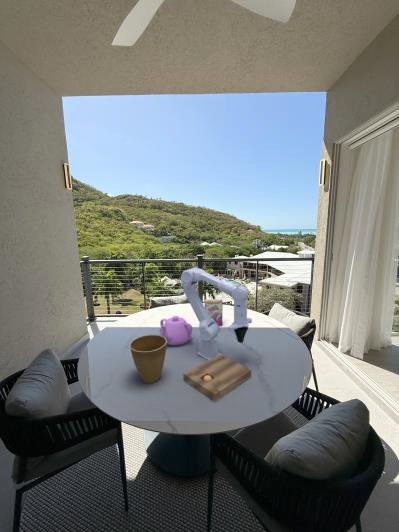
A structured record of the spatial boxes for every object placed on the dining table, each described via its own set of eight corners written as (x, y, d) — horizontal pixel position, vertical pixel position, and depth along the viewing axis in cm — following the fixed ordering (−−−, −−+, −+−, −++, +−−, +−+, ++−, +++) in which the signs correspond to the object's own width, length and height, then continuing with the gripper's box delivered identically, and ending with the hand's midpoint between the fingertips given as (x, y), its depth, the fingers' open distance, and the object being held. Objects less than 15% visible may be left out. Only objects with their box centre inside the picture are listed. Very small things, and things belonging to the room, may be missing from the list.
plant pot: (152, 364, 118) (150, 331, 115) (175, 376, 108) (174, 340, 106) (124, 379, 106) (122, 343, 104) (147, 394, 97) (145, 355, 94)
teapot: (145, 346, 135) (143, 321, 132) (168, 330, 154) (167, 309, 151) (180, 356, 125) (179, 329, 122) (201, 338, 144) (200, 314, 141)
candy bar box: (204, 327, 159) (204, 301, 156) (204, 323, 164) (204, 299, 161) (222, 326, 159) (222, 301, 156) (221, 323, 164) (221, 298, 161)
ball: (205, 383, 104) (200, 382, 102) (207, 374, 105) (203, 373, 103) (212, 386, 102) (207, 385, 99) (214, 377, 103) (210, 376, 101)
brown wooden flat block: (183, 380, 105) (183, 373, 105) (219, 360, 120) (219, 354, 120) (214, 401, 92) (214, 394, 92) (251, 376, 107) (251, 370, 107)
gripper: (237, 319, 106) (237, 350, 108) (257, 311, 115) (257, 339, 118) (224, 315, 111) (224, 345, 113) (244, 307, 121) (244, 334, 123)
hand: (240, 341), depth 116 cm, fingers closed
